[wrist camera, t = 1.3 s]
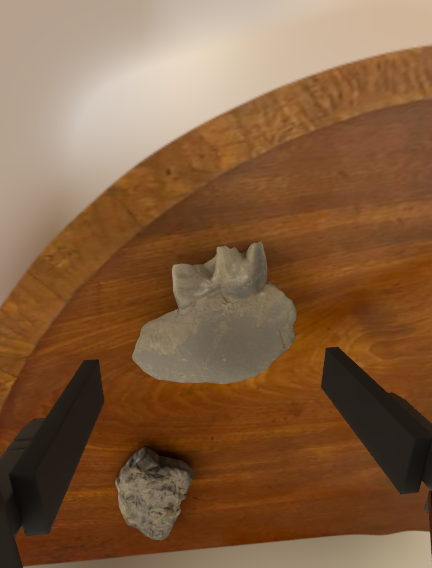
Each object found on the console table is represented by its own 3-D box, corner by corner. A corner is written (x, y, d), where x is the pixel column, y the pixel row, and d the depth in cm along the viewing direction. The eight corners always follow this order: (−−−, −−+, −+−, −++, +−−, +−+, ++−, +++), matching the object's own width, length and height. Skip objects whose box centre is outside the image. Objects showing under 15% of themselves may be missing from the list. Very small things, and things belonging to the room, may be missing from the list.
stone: (171, 526, 35) (169, 553, 32) (104, 517, 34) (96, 545, 31) (203, 439, 32) (204, 461, 29) (131, 425, 30) (125, 447, 28)
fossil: (258, 298, 31) (252, 220, 25) (314, 373, 24) (327, 288, 17) (137, 345, 29) (95, 272, 22) (155, 446, 21) (100, 379, 15)
